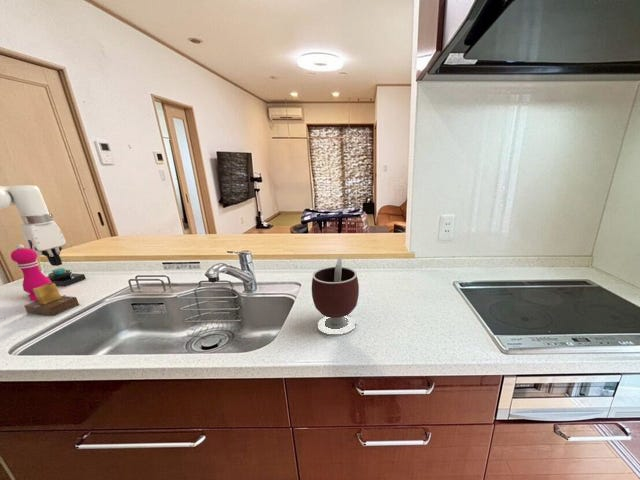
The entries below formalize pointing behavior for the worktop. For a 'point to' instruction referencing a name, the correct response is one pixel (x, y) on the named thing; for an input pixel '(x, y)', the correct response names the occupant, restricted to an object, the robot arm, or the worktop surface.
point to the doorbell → (66, 278)
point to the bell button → (59, 271)
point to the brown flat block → (52, 306)
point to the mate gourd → (335, 294)
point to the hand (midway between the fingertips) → (57, 264)
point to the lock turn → (47, 293)
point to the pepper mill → (29, 269)
